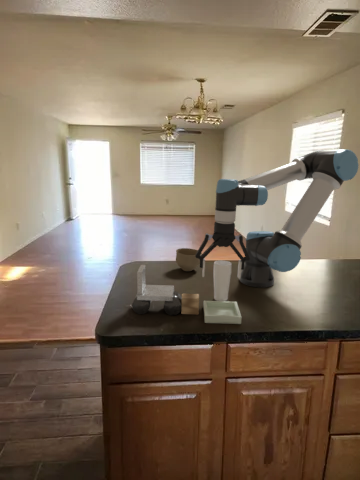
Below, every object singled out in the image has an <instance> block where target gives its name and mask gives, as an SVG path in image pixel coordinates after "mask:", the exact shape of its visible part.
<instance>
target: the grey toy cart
mask: <svg viewBox="0 0 360 480" xmlns="http://www.w3.org/2000/svg"><path fill="white" fill-rule="evenodd" d="M136 279H137V281H136V284H137V290H136V291H137V293H136V295H135V298H134V299H133V301H132V304H131V308H132V310H133V312H134V313H136V314H137V315H145V314H147V313H148V312H149V310H150V307H151V303H152V302H155V301H158V302H164V304H163V310H164V312H165V313H166V314H168V315H169V316H176V315H178V314H180V312H181V308H182V294H180V292H178V291H176V290H175V285H170V284H169V285H166V284H165V285H164V284H163V285H162V284H159V285H158V284H147V283H146V264H140V266H139V268H138V270H137V272H136Z"/></svg>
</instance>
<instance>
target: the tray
mask: <svg viewBox="0 0 360 480" xmlns="http://www.w3.org/2000/svg"><path fill="white" fill-rule="evenodd" d="M202 307H203V316H204V319H203V320H204V323H206V324H228V325H229V324H231V325H232V324H233V325H242V319H243V317H242V314H241V311H240V308H239V305H238V301H229V300H227V301H216V300H203V306H202Z"/></svg>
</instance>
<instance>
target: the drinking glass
mask: <svg viewBox="0 0 360 480" xmlns="http://www.w3.org/2000/svg"><path fill="white" fill-rule="evenodd" d="M212 268H213V271H212V272H213V273H212V275H213V278H212V279H213V300H214V301H229V300H228V299H229V290H230V284H231V276H232V262H230V261H229V260H221V259H220V260H215V261H214V262H213V267H212Z"/></svg>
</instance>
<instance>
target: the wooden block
mask: <svg viewBox="0 0 360 480" xmlns="http://www.w3.org/2000/svg"><path fill="white" fill-rule="evenodd" d="M181 297H182V305H181V311H180V312H181V314H182V315H199V311H200V310H199V307H200V293H182V294H181Z"/></svg>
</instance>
